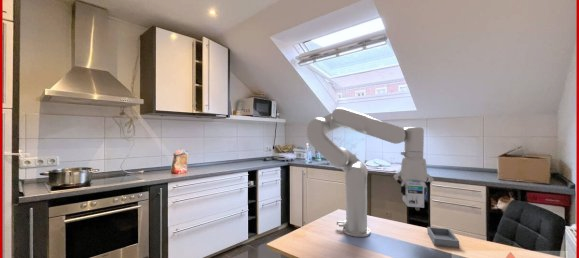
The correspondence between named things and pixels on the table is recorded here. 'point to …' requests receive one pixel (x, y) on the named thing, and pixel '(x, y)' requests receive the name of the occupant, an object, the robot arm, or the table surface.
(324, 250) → the table surface
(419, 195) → the light bulb box
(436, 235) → the tray
